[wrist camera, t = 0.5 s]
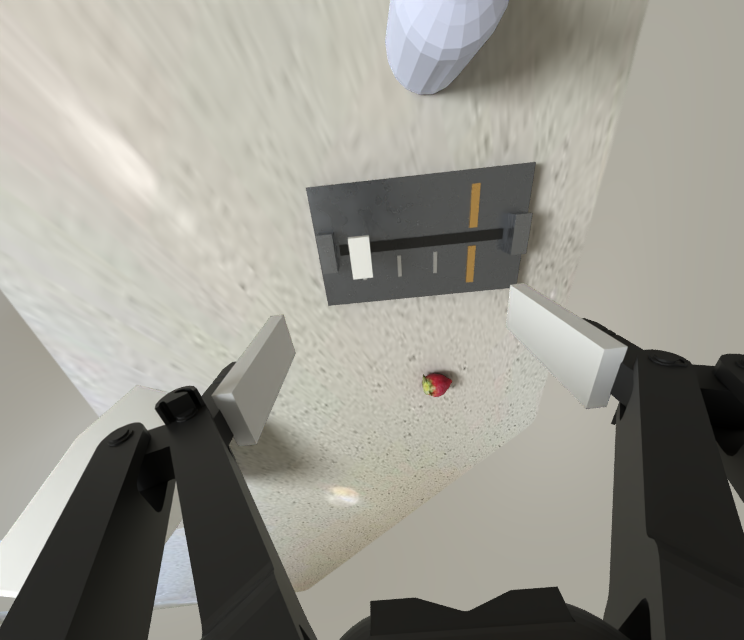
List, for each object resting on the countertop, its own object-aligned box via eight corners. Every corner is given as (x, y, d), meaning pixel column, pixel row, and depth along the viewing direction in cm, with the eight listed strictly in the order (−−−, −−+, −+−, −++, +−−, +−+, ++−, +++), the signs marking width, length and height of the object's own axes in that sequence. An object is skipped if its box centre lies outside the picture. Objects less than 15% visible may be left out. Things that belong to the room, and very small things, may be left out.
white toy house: (212, 465, 60) (119, 631, 38) (137, 449, 57) (-10, 619, 35) (223, 406, 52) (114, 573, 29) (137, 384, 49) (-55, 551, 27)
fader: (350, 231, 35) (347, 238, 30) (368, 229, 35) (368, 236, 30) (355, 267, 37) (353, 279, 32) (372, 265, 37) (372, 277, 32)
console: (309, 187, 34) (302, 187, 31) (526, 163, 34) (545, 160, 30) (330, 300, 42) (326, 311, 38) (509, 282, 41) (523, 292, 37)
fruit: (445, 387, 50) (453, 407, 46) (415, 383, 50) (420, 402, 45) (453, 370, 48) (462, 389, 44) (422, 365, 48) (428, 383, 43)
